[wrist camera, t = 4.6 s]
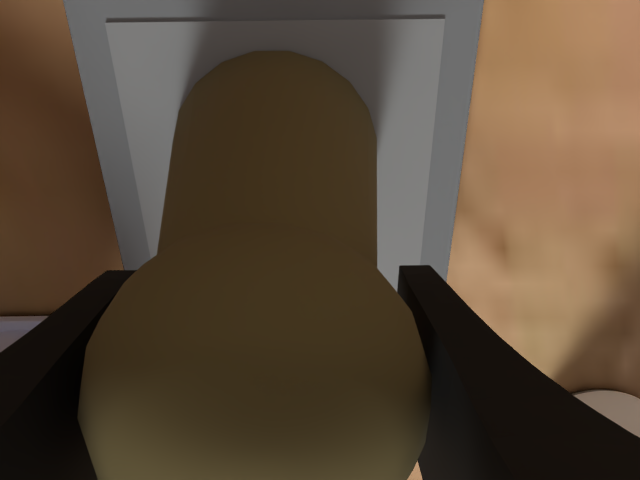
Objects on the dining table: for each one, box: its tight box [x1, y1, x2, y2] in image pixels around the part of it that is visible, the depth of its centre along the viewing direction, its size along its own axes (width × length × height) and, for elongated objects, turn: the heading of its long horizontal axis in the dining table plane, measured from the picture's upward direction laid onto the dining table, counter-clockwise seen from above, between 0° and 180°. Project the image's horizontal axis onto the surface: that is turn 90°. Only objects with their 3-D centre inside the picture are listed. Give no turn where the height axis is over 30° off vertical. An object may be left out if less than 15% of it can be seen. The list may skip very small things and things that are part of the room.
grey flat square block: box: [63, 0, 484, 291], centre depth 18 cm, size 11×11×3 cm
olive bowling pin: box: [77, 51, 432, 480], centre depth 12 cm, size 6×6×11 cm
